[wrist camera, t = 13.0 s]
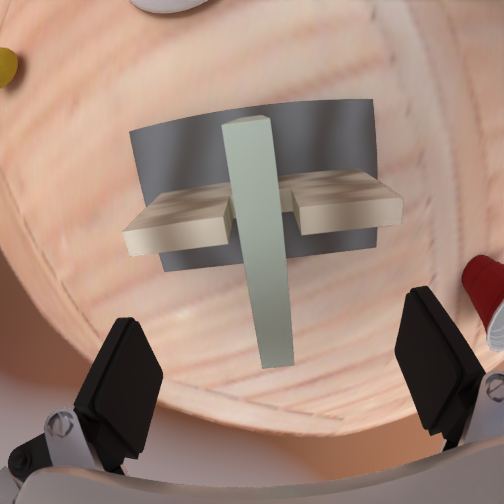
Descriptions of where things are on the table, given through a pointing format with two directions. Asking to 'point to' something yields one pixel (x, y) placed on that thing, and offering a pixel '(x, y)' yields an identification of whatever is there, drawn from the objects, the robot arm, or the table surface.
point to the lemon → (7, 66)
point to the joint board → (289, 181)
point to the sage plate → (261, 234)
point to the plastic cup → (487, 296)
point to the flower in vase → (166, 5)
